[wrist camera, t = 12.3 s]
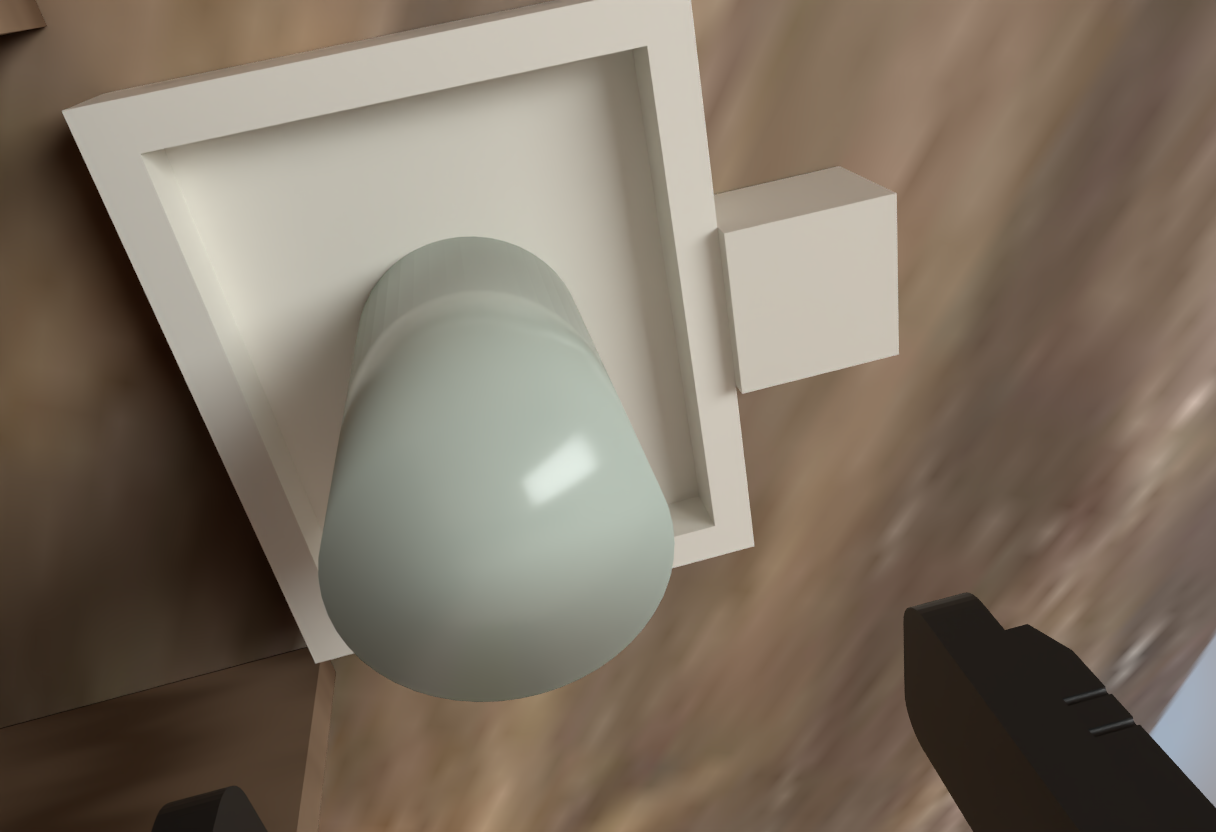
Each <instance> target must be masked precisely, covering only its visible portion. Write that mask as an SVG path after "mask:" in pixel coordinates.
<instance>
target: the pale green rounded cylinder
mask: <svg viewBox="0 0 1216 832" xmlns="http://www.w3.org/2000/svg"><path fill="white" fill-rule="evenodd" d="M674 545H675V541H674V530H673V523H672V519H671V515H670V511H669V507H668V504H667V502H666V500H665V497H664V495H663V493H662V491H661V488H660V486H659V484H658V482H657V480H656V477H655V475H654V473H653V471H652V469H651V467H650V464H649V462H648V460H647V458H646V456H645V453H644V451H643V449H642V447H641V445H640V443H639V440H638V438H637V436H636V434H635V432H634V429H633V427H632V425H631V423H630V421H629V419H628V416H627V414H626V412H625V410H624V408H623V406H622V403H621V401H620V399H619V397H618V395H617V392H616V390H615V388H614V386H613V384H612V382H611V379H610V377H609V375H608V373H607V371H606V369H605V366H604V364H603V362H602V360H601V358H600V355H599V353H598V351H597V349H596V347H595V345H594V342H593V340H592V338H591V336H590V334H589V332H588V329H587V327H586V325H585V323H584V321H583V318H582V316H581V314H580V312H579V310H578V308H577V305H576V303H575V301H574V299H573V297H572V295H571V293H570V291H569V290H568V288H567V286H566V285H565V283H564V282H563V281H562V279H561V278H560V277H559V276H558V275H557V273H556V272H555V271H554V270H553V269H552V268H551V267H549V266H548V265H547V264H546V263H545V262H544V261H543V260H541V259H540V258H538V257H537V256H535V255H534V254H533V253H531V252H529V251H527V250H525V249H523V248H521V247H519V246H516V245H514V244H511V243H508V242H506V241H501V240H497V239H493V238H486V237H475V236H472V237H455V238H449V239H443V240H440V241H436V242H433V243H430V244H427V245H425V246H423V247H420V248H418V249H416V250H414V251H412V252H411V253H409V254H407V255H406V256H404V257H402V258H401V259H400V260H399V261H397V262H396V263H395V264H394V265H392V266H391V267H390V268H389V269H388V270H387V271H386V272H385V273H384V274H383V275H382V277H381V278H380V279H379V280H378V282H377V283H376V284H375V286H374V287H373V289H372V290H371V292H370V294H369V296H368V298H367V300H366V302H365V304H364V307H363V310H362V313H361V316H360V321H359V327H358V332H357V338H356V344H355V350H354V355H353V361H352V367H351V373H350V378H349V384H348V390H347V396H346V401H345V407H344V413H343V419H342V424H341V430H340V436H339V442H338V447H337V453H336V459H335V464H334V470H333V476H332V482H331V487H330V493H329V499H328V505H327V510H326V516H325V522H324V528H323V533H322V539H321V545H320V551H319V556H318V579H319V585H320V591H321V597H322V600H323V603H324V606H325V608H326V611H327V614H328V616H329V618H330V620H331V622H332V624H333V626H334V628H335V629H336V631H337V633H338V634H339V635H340V637H341V638H342V639H343V641H344V642H345V643H346V645H347V646H348V647H349V648H350V649H351V650H352V651H353V652H354V653H355V654H356V655H357V656H358V657H359V658H360V659H361V660H362V661H363V662H364V663H366V664H367V665H368V666H370V667H371V668H372V669H374V670H375V671H376V672H378V673H379V674H381V675H383V676H385V677H386V678H388V679H390V680H392V681H393V682H395V683H397V684H400V685H402V686H404V687H407V688H409V689H412V690H414V691H417V692H421V693H424V694H427V695H431V696H434V697H440V698H445V699H451V700H458V701H472V702H491V701H505V700H513V699H520V698H525V697H529V696H534V695H538V694H542V693H545V692H548V691H551V690H554V689H557V688H560V687H563V686H565V685H567V684H569V683H572V682H574V681H576V680H579V679H581V678H582V677H584V676H586V675H588V674H589V673H591V672H593V671H595V670H597V669H598V668H600V667H601V666H603V665H604V664H605V663H607V662H608V661H610V660H611V659H612V658H614V657H615V656H616V655H617V654H619V653H620V652H621V651H622V650H623V649H624V648H625V647H626V646H628V645H629V644H630V643H631V642H632V641H633V639H634V638H635V637H636V636H637V635H638V634H639V633H640V632H641V631H642V630H643V628H644V627H645V625H646V624H647V623H648V621H649V620H650V618H651V617H652V616H653V614H654V613H655V611H656V609H657V607H658V605H659V603H660V601H661V599H662V598H663V595H664V593H665V590H666V587H667V585H668V582H669V579H670V575H671V570H672V565H673V560H674Z"/></svg>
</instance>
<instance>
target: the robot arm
mask: <svg viewBox="0 0 1216 832" xmlns="http://www.w3.org/2000/svg"><path fill="white" fill-rule="evenodd" d="M904 683H905V701H906V707H907V711H908V715H909V718H910V721H911V724H912V727H913V729H914V732H915V734H916V737H917V739H918V741H919V743H920V745H921V747H922V748H923V750H924V752H925V753H926V755H927V757H928V758H929V760H930V762H931V763H932V765H933V767H934V768H935V770H936V771H937V773H938V775H939V776H940V778H941V780H942V781H943V783H944V785H945V786H946V788H947V789H948V791H949V793H950V794H951V796H952V798H953V799H954V801H955V803H956V804H957V806H958V807H959V809H960V811H961V812H962V814H963V816H964V817H965V819H966V821H967V822H968V824H969V825H970V827H971V829H972V830H973V832H1216V808H1215V807H1214V806H1213V804H1211V803H1210V801H1209V800H1208V799H1207V798H1206V797H1205V796H1204V795H1203V793H1201V791H1200V790H1199V789H1198V788H1197V787H1196V786H1195V785H1194V784H1193V782H1192V781H1191V780H1190V779H1189V778H1188V777H1187V776H1186V775H1185V774H1184V773H1183V772H1182V770H1181V769H1180V768H1179V767H1178V766H1177V765H1176V764H1175V763H1174V762H1173V761H1172V759H1171V758H1170V757H1169V756H1168V755H1167V754H1166V753H1165V752H1164V751H1163V750H1162V748H1161V747H1160V746H1159V745H1158V744H1157V743H1156V742H1155V741H1154V740H1153V739H1152V737H1151V736H1150V735H1149V734H1148V733H1147V732H1146V731H1145V730H1144V729H1143V728H1142V726H1141V725H1136V724H1135V723H1134V721H1133V717H1132V715H1131V714H1130V713H1129V712H1128V711H1127V710H1126V709H1125V708H1124V707H1123V706H1122V704H1121V703H1120V702H1119V701H1118V700H1117V699H1116V698H1115V697H1114V696H1113V695H1112V694H1110V695H1109V694H1108V693H1107V691H1106V689H1105V686H1104V685H1103V684H1102V683H1101V681H1100V680H1099V679H1098V678H1097V677H1096V676H1095V675H1094V674H1093V673H1092V672H1091V670H1090V669H1089V668H1088V667H1087V666H1086V665H1085V664H1084V663H1083V662H1082V661H1081V659H1080V658H1079V657H1078V656H1077V655H1076V654H1075V653H1074V652H1073V651H1072V650H1071V649H1069V648H1067V647H1066V646H1064V645H1062V644H1060V643H1059V642H1057V641H1055V640H1054V639H1052V638H1050V637H1049V636H1047V635H1045V634H1044V633H1042V632H1040V631H1038V630H1037V629H1035V628H1033V627H1032V626H1030V625H1028V624H1026V625H1022V626H1019V627H1015V628H1011V629H1008V630H1004V629H1003V627H1002V626H1001V625H1000V624H999V623H998V621H997V620H996V619H995V618H994V617H993V615H992V614H991V613H990V612H989V611H988V609H987V608H986V607H985V606H984V605H983V603H982V602H981V601H980V600H979V599H978V598H977V597H975V596H974V595H973V594H971V593H967V592H966V593H962V594H958V595H954V596H951V597H947V598H943V599H939V600H936V601H932V602H928V603H924V604H921V605H917V606H913V607H909V608H907V609H906V611H905V613H904ZM151 832H268V831H267V830H266V828H265V826H264V824H263V823H262V821H261V819H260V818H259V816H258V814H257V813H256V811H255V809H254V808H253V806H252V804H251V802H250V801H249V799H248V797H247V796H246V794H245V793H244V791H243V790H242V789H241V788H239V787H238V786H229V787H226V788H222V789H218V790H214V791H211V792H207V793H203V794H199V795H196V796H192V797H188V798H184V799H181V800H177V801H173V802H170V803H167V804H165V805H164V806H163V807H162V808H161V809H160V811H159V813H158V814H157V817H156V819H155V822H154V825H153V828H152V831H151Z"/></svg>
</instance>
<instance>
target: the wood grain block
mask: <svg viewBox="0 0 1216 832" xmlns="http://www.w3.org/2000/svg"><path fill="white" fill-rule="evenodd" d="M45 26H47V25H46V23H45V21H44V19H43V16H42V14H41V12H40V10H39V7H38V5H37V3H36V1H35V0H0V35H5V34H10V33H15V32H20V31H25V30H30V29H35V28H40V27H45ZM335 676H336V672H335V670H334V668H333V665H332V663H331V661H330V660H327V661H323V662H320V663H316V664H315V662H314V659H313V657H312V655H311V653H310V651H309V649H308V647H307V648H303V649H300V650H296V651H292V652H288V653H285V654H281V655H277V656H273V657H270V658H266V659H262V660H258V661H255V662H251V663H247V664H243V665H239V666H236V667H232V668H228V669H224V670H221V671H217V672H213V673H209V674H206V675H202V676H198V677H194V678H191V679H187V680H183V681H179V682H176V683H172V684H168V685H164V686H160V687H157V688H153V689H149V690H145V691H142V692H138V693H134V694H130V695H127V696H123V697H119V698H115V699H112V700H108V701H104V702H100V703H97V704H93V705H89V706H85V707H81V708H78V709H74V710H70V711H66V712H63V713H59V714H55V715H51V716H48V717H44V718H40V719H36V720H33V721H29V722H25V723H21V724H18V725H14V726H10V727H6V728H2V729H0V832H151V831H152V828H153V825H154V822H155V819H156V817H157V814H158V813H159V811H160V809H161V808H162V807H163V806H164V805H165V804H167V803H170V802H173V801H177V800H181V799H184V798H188V797H192V796H196V795H199V794H203V793H207V792H211V791H214V790H218V789H222V788H226V787H229V786H238V787H239V788H241V789H242V790H243V791H244V793H245V794H246V796H247V797H248V799H249V801H250V802H251V804H252V806H253V808H254V809H255V811H256V813H257V814H258V816H259V818H260V819H261V821H262V823H263V824H264V826H265V828H266V830H267V831H268V832H318V826H319V817H320V808H321V799H322V790H323V782H324V773H325V764H326V755H327V746H328V738H329V729H330V720H331V711H332V702H333V694H334V685H335Z"/></svg>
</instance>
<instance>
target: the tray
mask: <svg viewBox="0 0 1216 832" xmlns="http://www.w3.org/2000/svg"><path fill="white" fill-rule="evenodd" d="M62 113H63V115H64V117H65V119H66V122H67V124H68V126H69V128H70V130H71V133H72V135H73V137H74V139H75V141H76V143H77V146H78V148H79V150H80V152H81V154H82V156H83V159H84V161H85V163H86V165H87V167H88V170H89V172H90V174H91V176H92V178H93V180H94V183H95V185H96V187H97V189H98V191H99V193H100V196H101V198H102V200H103V202H104V204H105V207H106V209H107V211H108V213H109V215H110V217H111V220H112V222H113V224H114V226H115V228H116V230H117V233H118V235H119V237H120V239H121V241H122V244H123V246H124V248H125V250H126V252H127V254H128V257H129V259H130V261H131V263H132V265H133V268H134V270H135V272H136V274H137V276H138V278H139V281H140V283H141V285H142V287H143V289H144V291H145V294H146V296H147V298H148V300H149V302H150V305H151V307H152V309H153V311H154V313H155V315H156V318H157V320H158V322H159V324H160V326H161V328H162V331H163V333H164V335H165V337H166V339H167V342H168V344H169V346H170V348H171V350H172V352H173V355H174V357H175V359H176V361H177V363H178V365H179V368H180V370H181V372H182V374H183V376H184V379H185V381H186V383H187V385H188V387H189V389H190V392H191V394H192V396H193V398H194V400H195V403H196V405H197V407H198V409H199V411H200V413H201V416H202V418H203V420H204V422H205V424H206V426H207V429H208V431H209V433H210V435H211V437H212V440H213V442H214V444H215V446H216V448H217V450H218V453H219V455H220V457H221V459H222V461H223V463H224V466H225V468H226V470H227V472H228V474H229V477H230V479H231V481H232V483H233V485H234V487H235V490H236V492H237V494H238V496H239V498H240V501H241V503H242V505H243V507H244V509H245V511H246V514H247V516H248V518H249V520H250V522H251V524H252V527H253V529H254V531H255V533H256V535H257V538H258V540H259V542H260V544H261V546H262V548H263V551H264V553H265V555H266V557H267V559H268V561H269V564H270V566H271V568H272V570H273V572H274V575H275V577H276V579H277V581H278V583H279V585H280V588H281V590H282V592H283V594H284V596H285V598H286V601H287V603H288V605H289V607H290V609H291V612H292V614H293V616H294V618H295V620H296V622H297V625H298V627H299V629H300V631H301V633H302V636H303V638H304V640H305V642H306V644H307V646H308V649H309V651H310V653H311V655H312V657H313V659H314V662H315V664H316V663H320V662H323V661H327V660H331V659H335V658H338V657H342V656H346V655H350V654H353V653H354V652H353V651H352V650H351V649H350V648H349V647H348V646H347V645H346V643H345V642H344V641H343V639H342V638H341V637H340V635H339V634H338V633H337V631H336V629H335V628H334V626H333V624H332V622H331V620H330V618H329V616H328V614H327V611H326V608H325V606H324V603H323V600H322V597H321V591H320V585H319V579H318V556H319V551H320V545H321V539H322V533H323V528H324V522H325V516H326V510H327V505H328V499H329V493H330V487H331V482H332V476H333V470H334V464H335V459H336V453H337V447H338V442H339V436H340V430H341V424H342V419H343V413H344V407H345V401H346V396H347V390H348V384H349V378H350V373H351V367H352V361H353V355H354V350H355V344H356V338H357V332H358V327H359V321H360V316H361V313H362V310H363V307H364V304H365V302H366V300H367V298H368V296H369V294H370V292H371V290H372V289H373V287H374V286H375V284H376V283H377V282H378V280H379V279H380V278H381V277H382V275H383V274H384V273H385V272H386V271H387V270H388V269H389V268H390V267H391V266H392V265H394V264H395V263H396V262H397V261H399V260H400V259H401V258H402V257H404V256H406V255H407V254H409V253H411V252H412V251H414V250H416V249H418V248H420V247H423V246H425V245H427V244H430V243H433V242H436V241H440V240H443V239H449V238H455V237H472V236H475V237H486V238H493V239H497V240H501V241H506V242H508V243H511V244H514V245H516V246H519V247H521V248H523V249H525V250H527V251H529V252H531V253H533V254H534V255H535V256H537V257H538V258H540V259H541V260H543V261H544V262H545V263H546V264H547V265H548V266H549V267H551V268H552V269H553V270H554V271H555V272H556V273H557V275H558V276H559V277H560V278H561V279H562V281H563V282H564V283H565V285H566V286H567V288H568V290H569V291H570V293H571V295H572V297H573V299H574V301H575V303H576V305H577V308H578V310H579V312H580V314H581V316H582V318H583V321H584V323H585V325H586V327H587V329H588V332H589V334H590V336H591V338H592V340H593V342H594V345H595V347H596V349H597V351H598V353H599V355H600V358H601V360H602V362H603V364H604V366H605V369H606V371H607V373H608V375H609V377H610V379H611V382H612V384H613V386H614V388H615V390H616V392H617V395H618V397H619V399H620V401H621V403H622V406H623V408H624V410H625V412H626V414H627V416H628V419H629V421H630V423H631V425H632V427H633V429H634V432H635V434H636V436H637V438H638V440H639V443H640V445H641V447H642V449H643V451H644V453H645V456H646V458H647V460H648V462H649V464H650V467H651V469H652V471H653V473H654V475H655V477H656V480H657V482H658V484H659V486H660V488H661V491H662V493H663V495H664V497H665V500H666V502H667V504H668V507H669V511H670V515H671V519H672V523H673V530H674V541H675V545H674V560H673V565H672V568H675V567H678V566H682V565H686V564H690V563H693V562H697V561H701V560H704V559H708V558H712V557H716V556H719V555H723V554H727V553H731V552H734V551H738V550H742V549H746V548H749V547H753V546H754V538H753V530H752V521H751V512H750V504H749V495H748V487H747V478H746V469H745V461H744V452H743V444H742V435H741V426H740V418H739V409H738V401H737V392H736V386H737V387H738V389H739V390H740V391H741V393H742V394H743V393H747V392H751V391H755V390H759V389H763V388H767V387H771V386H775V385H779V384H783V383H787V382H791V381H795V380H799V379H803V378H807V377H811V376H815V375H819V374H823V373H827V372H831V371H835V370H839V369H843V368H847V367H851V366H855V365H859V364H863V363H866V362H870V361H874V360H878V359H882V358H886V357H890V356H894V355H898V354H899V334H898V263H897V193H895V192H893V191H891V190H889V189H887V188H885V187H883V186H880V185H878V184H876V183H874V182H872V181H870V180H868V179H866V178H864V177H862V176H859V175H857V174H855V173H853V172H851V171H849V170H847V169H845V168H843V167H840V166H837V167H833V168H829V169H824V170H820V171H816V172H811V173H807V174H803V175H798V176H794V177H790V178H785V179H781V180H777V181H772V182H768V183H764V184H759V185H755V186H750V187H746V188H742V189H737V190H733V191H729V192H724V193H720V194H716V195H714V194H713V186H712V177H711V168H710V160H709V151H708V143H707V134H706V125H705V117H704V108H703V100H702V91H701V82H700V74H699V65H698V57H697V48H696V39H695V31H694V22H693V14H692V5H691V0H554V1H549V2H544V3H539V4H535V5H530V6H525V7H520V8H515V9H510V10H506V11H501V12H496V13H491V14H486V15H481V16H476V17H472V18H467V19H462V20H457V21H452V22H447V23H443V24H438V25H433V26H428V27H423V28H418V29H413V30H409V31H404V32H399V33H394V34H389V35H384V36H380V37H375V38H370V39H365V40H360V41H355V42H351V43H346V44H341V45H336V46H331V47H326V48H321V49H317V50H312V51H307V52H302V53H297V54H292V55H288V56H283V57H278V58H273V59H268V60H263V61H258V62H254V63H249V64H244V65H239V66H234V67H229V68H225V69H220V70H215V71H210V72H205V73H200V74H196V75H191V76H186V77H181V78H176V79H171V80H166V81H162V82H157V83H152V84H147V85H142V86H137V87H133V88H128V89H123V90H118V91H113V92H108V93H104V94H101V95H99V96H96V97H94V98H92V99H89V100H87V101H84V102H82V103H79V104H77V105H75V106H72V107H70V108H67V109H65V110H62Z"/></svg>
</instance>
